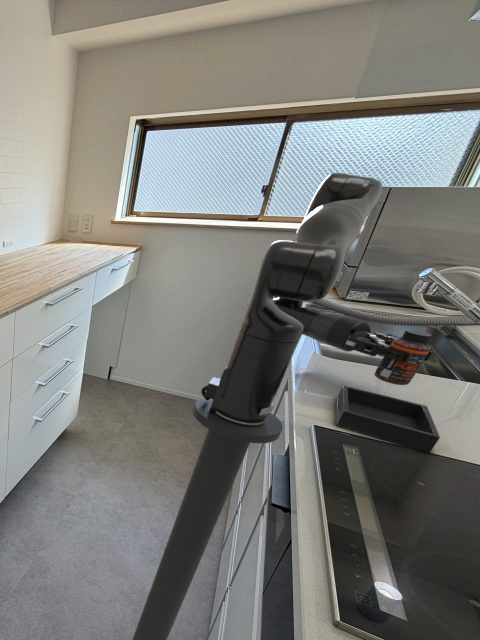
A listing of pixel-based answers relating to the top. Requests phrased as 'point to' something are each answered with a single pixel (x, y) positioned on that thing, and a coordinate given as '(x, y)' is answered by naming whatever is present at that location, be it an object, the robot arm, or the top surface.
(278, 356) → the robot arm
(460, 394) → the top surface
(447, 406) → the top surface
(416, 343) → the supplement bottle
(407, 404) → the bin
